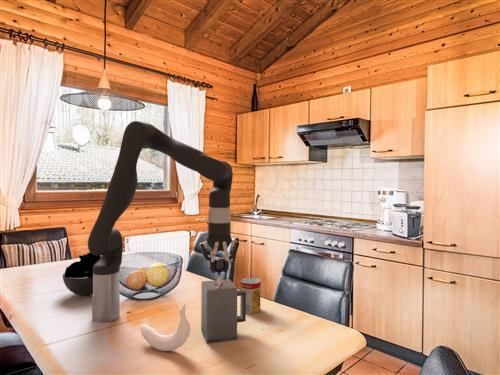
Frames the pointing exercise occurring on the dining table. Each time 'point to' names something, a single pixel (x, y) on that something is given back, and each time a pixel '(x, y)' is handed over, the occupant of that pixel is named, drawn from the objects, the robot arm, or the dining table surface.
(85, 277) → the bowl of black rocks
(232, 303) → the press jar
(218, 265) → the plunger
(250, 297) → the canned food
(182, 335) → the banana
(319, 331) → the dining table surface
